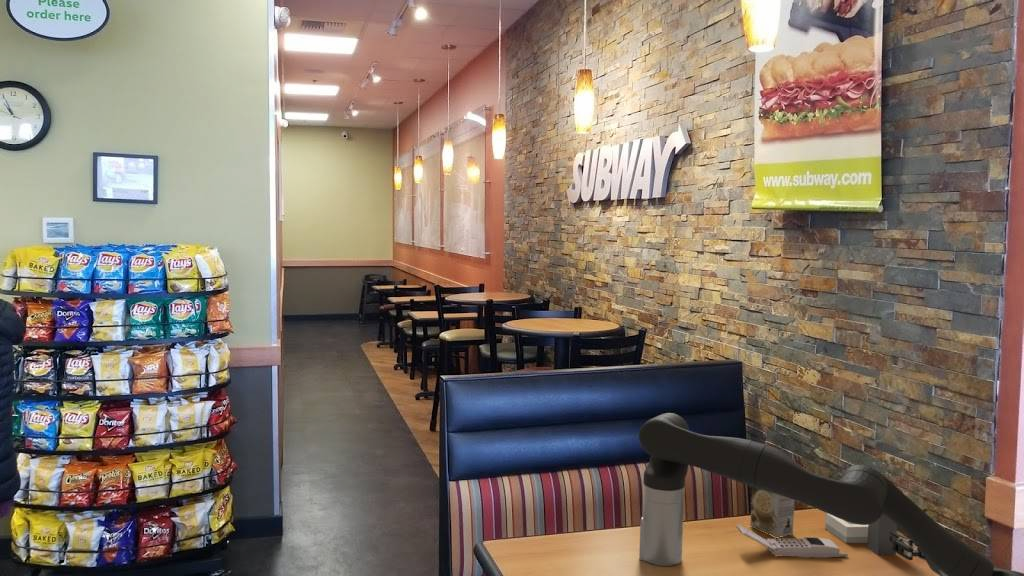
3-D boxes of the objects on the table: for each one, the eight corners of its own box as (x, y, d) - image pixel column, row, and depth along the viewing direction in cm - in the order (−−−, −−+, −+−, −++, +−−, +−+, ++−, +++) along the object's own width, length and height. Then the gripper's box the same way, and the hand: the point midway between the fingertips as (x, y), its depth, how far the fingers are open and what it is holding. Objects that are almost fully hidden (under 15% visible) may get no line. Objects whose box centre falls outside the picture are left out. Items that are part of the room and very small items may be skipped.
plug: (877, 555, 187) (880, 496, 186) (867, 547, 191) (870, 490, 191) (895, 554, 187) (898, 496, 187) (884, 547, 192) (887, 490, 191)
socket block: (845, 543, 194) (846, 527, 194) (825, 528, 204) (825, 513, 204) (884, 542, 195) (885, 526, 195) (861, 527, 205) (862, 512, 205)
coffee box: (748, 527, 204) (751, 465, 203) (766, 523, 207) (769, 462, 206) (776, 539, 195) (779, 475, 195) (794, 535, 199) (797, 472, 198)
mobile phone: (735, 523, 190) (839, 525, 190) (734, 547, 190) (838, 549, 190) (742, 533, 184) (850, 535, 184) (741, 558, 184) (849, 560, 184)
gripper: (990, 546, 164) (939, 518, 180) (926, 548, 162) (880, 520, 178) (988, 581, 164) (937, 551, 180) (924, 583, 162) (878, 552, 178)
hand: (908, 535), depth 179 cm, fingers open, 8 cm apart
